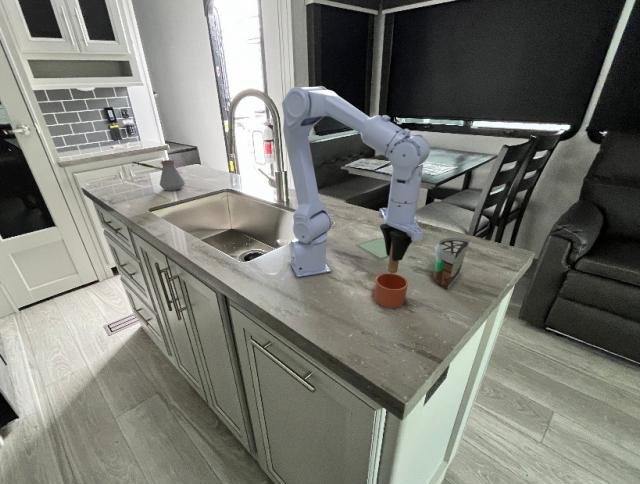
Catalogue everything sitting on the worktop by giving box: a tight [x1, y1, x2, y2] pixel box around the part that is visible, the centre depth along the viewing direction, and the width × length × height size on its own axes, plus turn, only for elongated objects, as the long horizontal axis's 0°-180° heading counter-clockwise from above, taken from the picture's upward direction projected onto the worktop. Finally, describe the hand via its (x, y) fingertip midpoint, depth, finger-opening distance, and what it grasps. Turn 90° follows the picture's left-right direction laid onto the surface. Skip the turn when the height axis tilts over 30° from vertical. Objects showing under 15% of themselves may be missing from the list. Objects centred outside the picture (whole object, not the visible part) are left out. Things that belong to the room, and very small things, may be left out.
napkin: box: [358, 237, 389, 259], centre depth 100 cm, size 10×10×1 cm
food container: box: [433, 236, 470, 290], centre depth 82 cm, size 12×6×10 cm, turn 141°
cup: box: [373, 272, 409, 309], centre depth 76 cm, size 7×7×5 cm
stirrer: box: [387, 242, 400, 274], centre depth 73 cm, size 2×2×9 cm
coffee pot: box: [131, 159, 186, 192], centre depth 150 cm, size 21×12×15 cm, turn 131°
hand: (394, 257), depth 73 cm, fingers closed on stirrer, 2 cm apart
